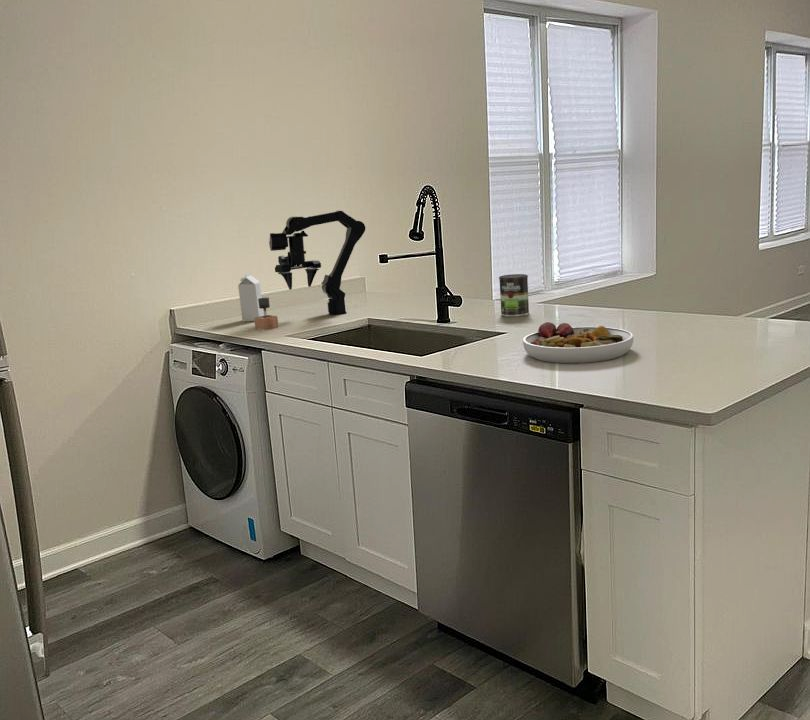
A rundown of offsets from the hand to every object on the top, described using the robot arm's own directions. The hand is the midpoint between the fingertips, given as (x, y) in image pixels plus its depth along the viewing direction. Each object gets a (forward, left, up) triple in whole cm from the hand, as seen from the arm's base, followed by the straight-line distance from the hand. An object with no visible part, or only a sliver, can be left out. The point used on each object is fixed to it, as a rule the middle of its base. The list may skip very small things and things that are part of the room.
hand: (300, 288), depth 335 cm
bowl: (-69, +119, -13) cm, 138 cm away
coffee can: (-74, +46, -12) cm, 88 cm away
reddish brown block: (+14, +16, -12) cm, 24 cm away
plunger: (+15, +15, -10) cm, 23 cm away
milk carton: (+20, -8, -12) cm, 25 cm away
